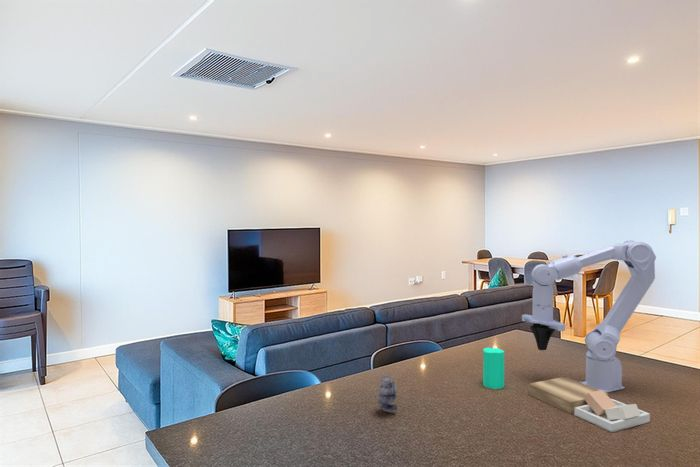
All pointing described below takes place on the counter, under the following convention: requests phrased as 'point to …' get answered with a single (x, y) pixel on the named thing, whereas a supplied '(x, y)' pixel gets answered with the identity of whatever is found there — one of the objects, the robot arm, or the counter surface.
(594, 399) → the terracotta tile
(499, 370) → the candle
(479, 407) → the counter surface
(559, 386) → the board
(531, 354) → the counter surface
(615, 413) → the cream tile
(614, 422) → the tray
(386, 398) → the grey stone figurine
